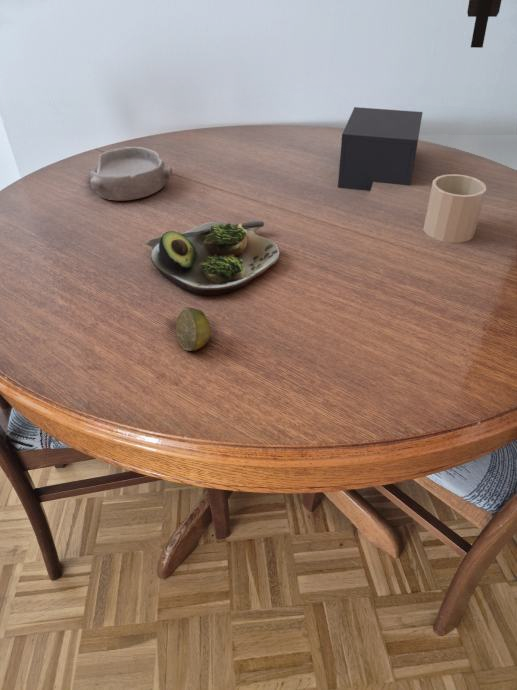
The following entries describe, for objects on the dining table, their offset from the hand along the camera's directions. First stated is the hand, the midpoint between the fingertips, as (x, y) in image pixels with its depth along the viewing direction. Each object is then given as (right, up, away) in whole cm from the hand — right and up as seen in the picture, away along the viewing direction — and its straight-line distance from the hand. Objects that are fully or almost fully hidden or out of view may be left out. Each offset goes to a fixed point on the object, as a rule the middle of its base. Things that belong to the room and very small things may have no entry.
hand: (476, 45), depth 72 cm
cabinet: (-6, -7, +31) cm, 33 cm away
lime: (-37, -40, -5) cm, 54 cm away
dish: (-52, -10, +29) cm, 60 cm away
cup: (0, -23, +12) cm, 26 cm away
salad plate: (-36, -28, +9) cm, 46 cm away
